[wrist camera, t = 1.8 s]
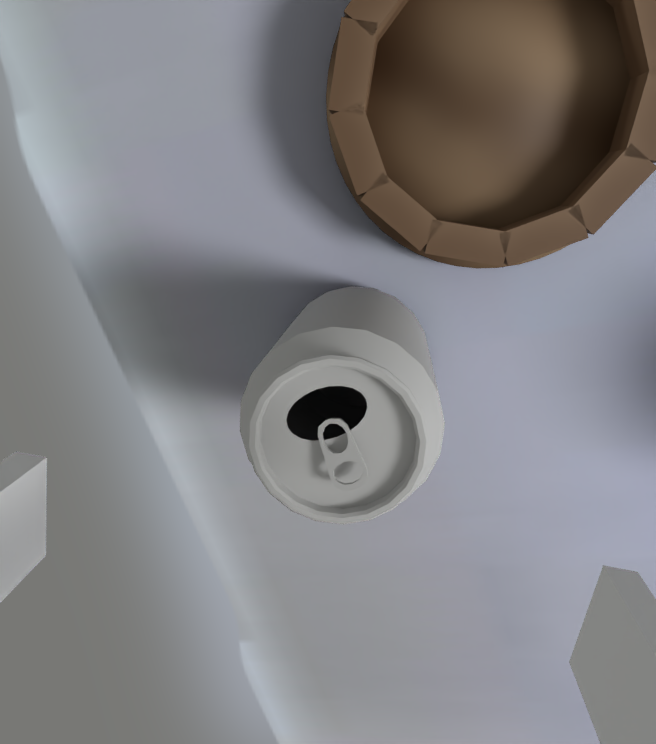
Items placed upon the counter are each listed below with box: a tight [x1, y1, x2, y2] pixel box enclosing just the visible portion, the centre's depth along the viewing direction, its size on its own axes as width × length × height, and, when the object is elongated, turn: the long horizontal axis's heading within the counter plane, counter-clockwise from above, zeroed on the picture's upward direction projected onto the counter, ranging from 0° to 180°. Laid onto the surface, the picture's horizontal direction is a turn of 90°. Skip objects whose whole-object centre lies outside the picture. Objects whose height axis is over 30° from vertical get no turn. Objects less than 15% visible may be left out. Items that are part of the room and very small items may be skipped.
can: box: [240, 286, 445, 524], centre depth 25 cm, size 8×8×12 cm
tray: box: [326, 0, 656, 268], centre depth 25 cm, size 15×15×3 cm
